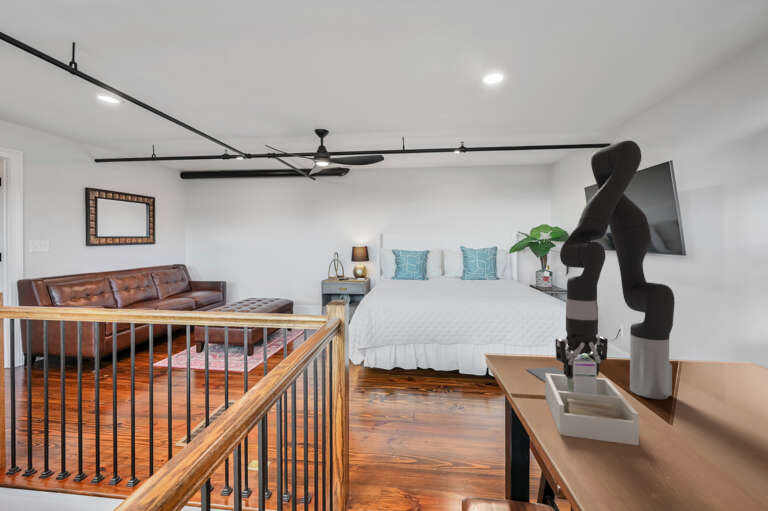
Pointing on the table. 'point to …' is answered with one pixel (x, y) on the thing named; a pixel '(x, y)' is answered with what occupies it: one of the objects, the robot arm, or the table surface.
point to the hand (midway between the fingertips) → (581, 376)
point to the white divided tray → (592, 425)
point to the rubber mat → (541, 372)
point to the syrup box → (583, 376)
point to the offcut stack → (591, 409)
